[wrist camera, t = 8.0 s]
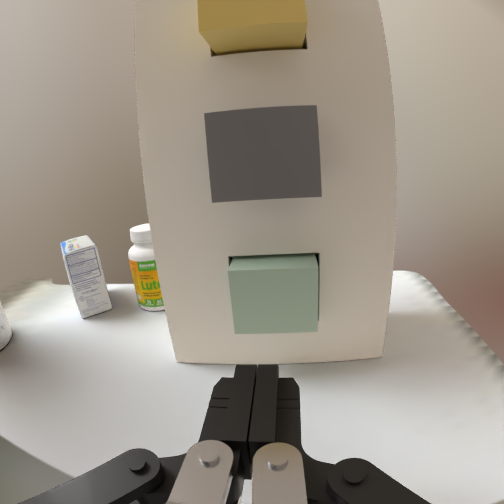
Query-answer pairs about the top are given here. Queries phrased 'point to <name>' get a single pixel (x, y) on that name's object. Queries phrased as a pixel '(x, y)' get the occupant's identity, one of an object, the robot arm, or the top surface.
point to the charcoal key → (263, 153)
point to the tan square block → (252, 25)
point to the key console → (270, 210)
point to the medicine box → (86, 276)
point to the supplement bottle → (145, 269)
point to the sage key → (274, 293)
